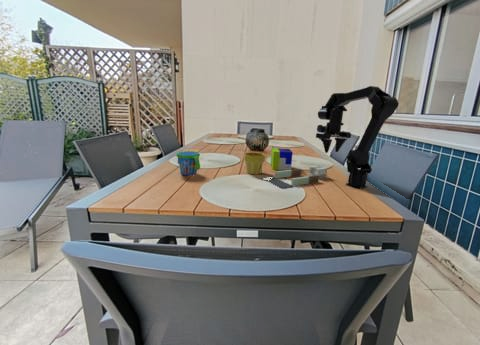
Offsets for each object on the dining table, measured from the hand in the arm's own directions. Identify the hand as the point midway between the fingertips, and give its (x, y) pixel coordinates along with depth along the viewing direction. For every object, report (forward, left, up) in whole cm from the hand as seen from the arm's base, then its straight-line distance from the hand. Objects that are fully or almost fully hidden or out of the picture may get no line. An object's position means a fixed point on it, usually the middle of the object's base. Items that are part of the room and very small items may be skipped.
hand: (331, 152), depth 123 cm
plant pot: (+18, +34, -12) cm, 40 cm away
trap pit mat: (0, +33, -12) cm, 35 cm away
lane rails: (0, +21, -12) cm, 24 cm away
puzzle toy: (+22, +14, -12) cm, 29 cm away
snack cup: (+28, +65, -12) cm, 72 cm away
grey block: (0, +8, -12) cm, 14 cm away
